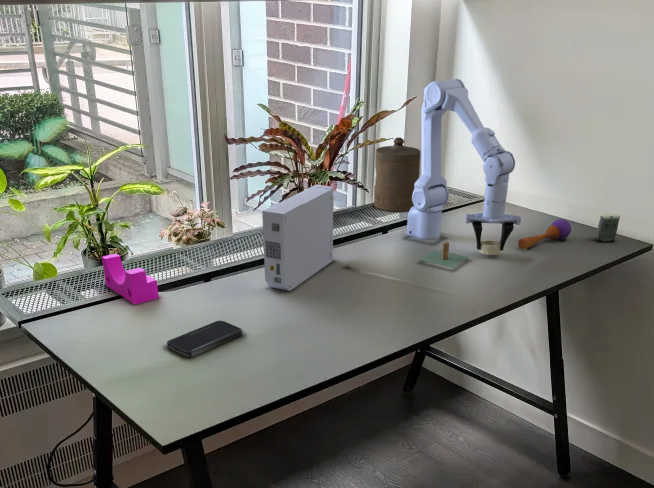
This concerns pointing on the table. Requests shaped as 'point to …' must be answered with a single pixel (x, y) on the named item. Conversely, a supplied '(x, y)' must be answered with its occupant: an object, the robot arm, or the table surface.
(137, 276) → the toy block
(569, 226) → the maraca
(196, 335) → the phone
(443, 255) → the tape stand
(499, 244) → the tape roll
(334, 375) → the table surface
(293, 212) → the game console
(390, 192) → the wooden container
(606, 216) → the grey upright rounded block
